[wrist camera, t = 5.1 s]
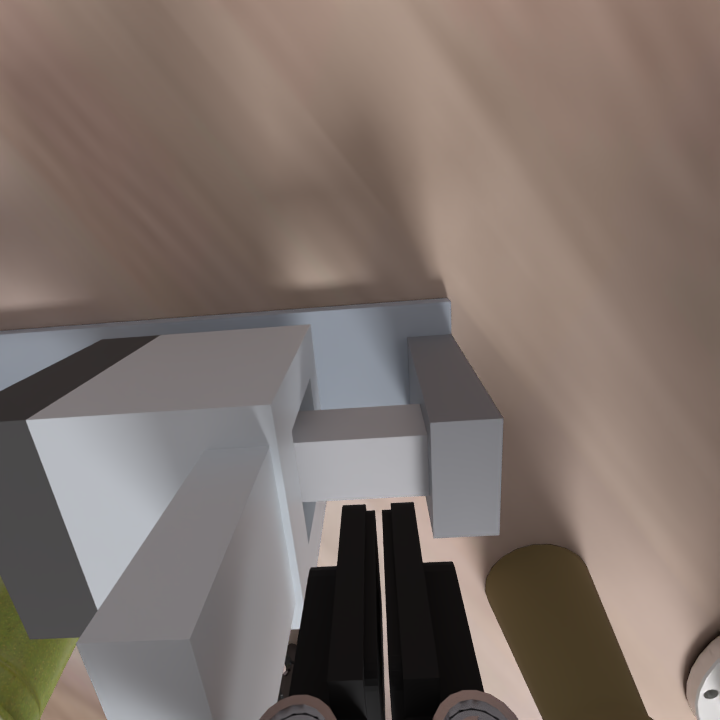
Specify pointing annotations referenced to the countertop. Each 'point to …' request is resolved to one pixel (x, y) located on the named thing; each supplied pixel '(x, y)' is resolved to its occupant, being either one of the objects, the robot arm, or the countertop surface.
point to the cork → (562, 636)
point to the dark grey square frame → (44, 500)
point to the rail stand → (354, 403)
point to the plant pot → (27, 665)
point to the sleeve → (188, 518)
